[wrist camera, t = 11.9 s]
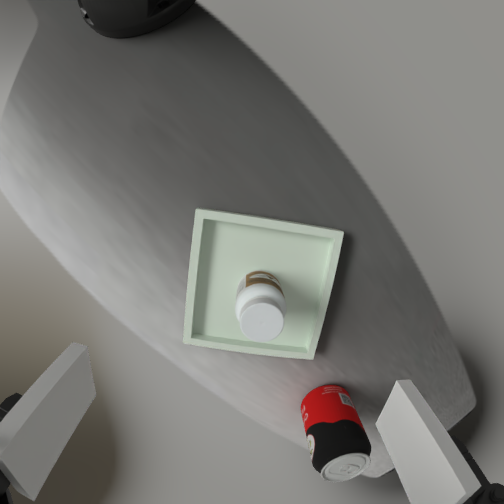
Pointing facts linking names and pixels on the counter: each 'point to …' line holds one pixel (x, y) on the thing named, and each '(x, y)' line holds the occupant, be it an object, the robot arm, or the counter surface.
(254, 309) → the pill bottle
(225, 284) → the tray
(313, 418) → the beverage can
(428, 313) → the counter surface
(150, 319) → the counter surface
